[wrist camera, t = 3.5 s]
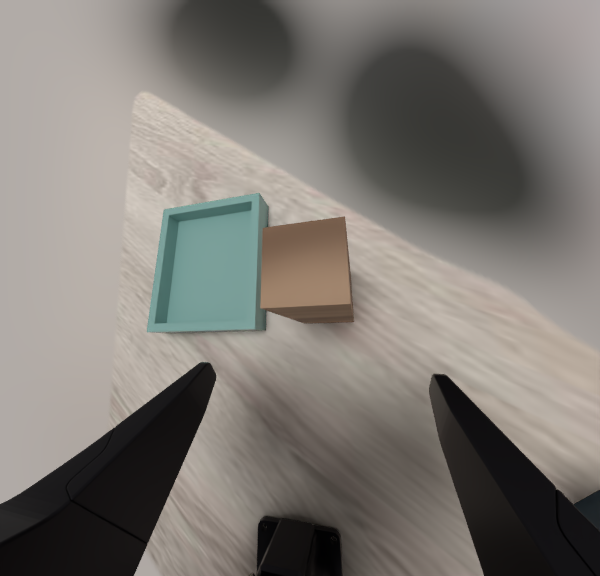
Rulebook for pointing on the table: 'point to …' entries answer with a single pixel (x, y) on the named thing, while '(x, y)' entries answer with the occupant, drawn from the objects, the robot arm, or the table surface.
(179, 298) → the tray
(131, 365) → the table surface
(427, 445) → the table surface
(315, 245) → the tall brown wood pillar
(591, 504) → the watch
